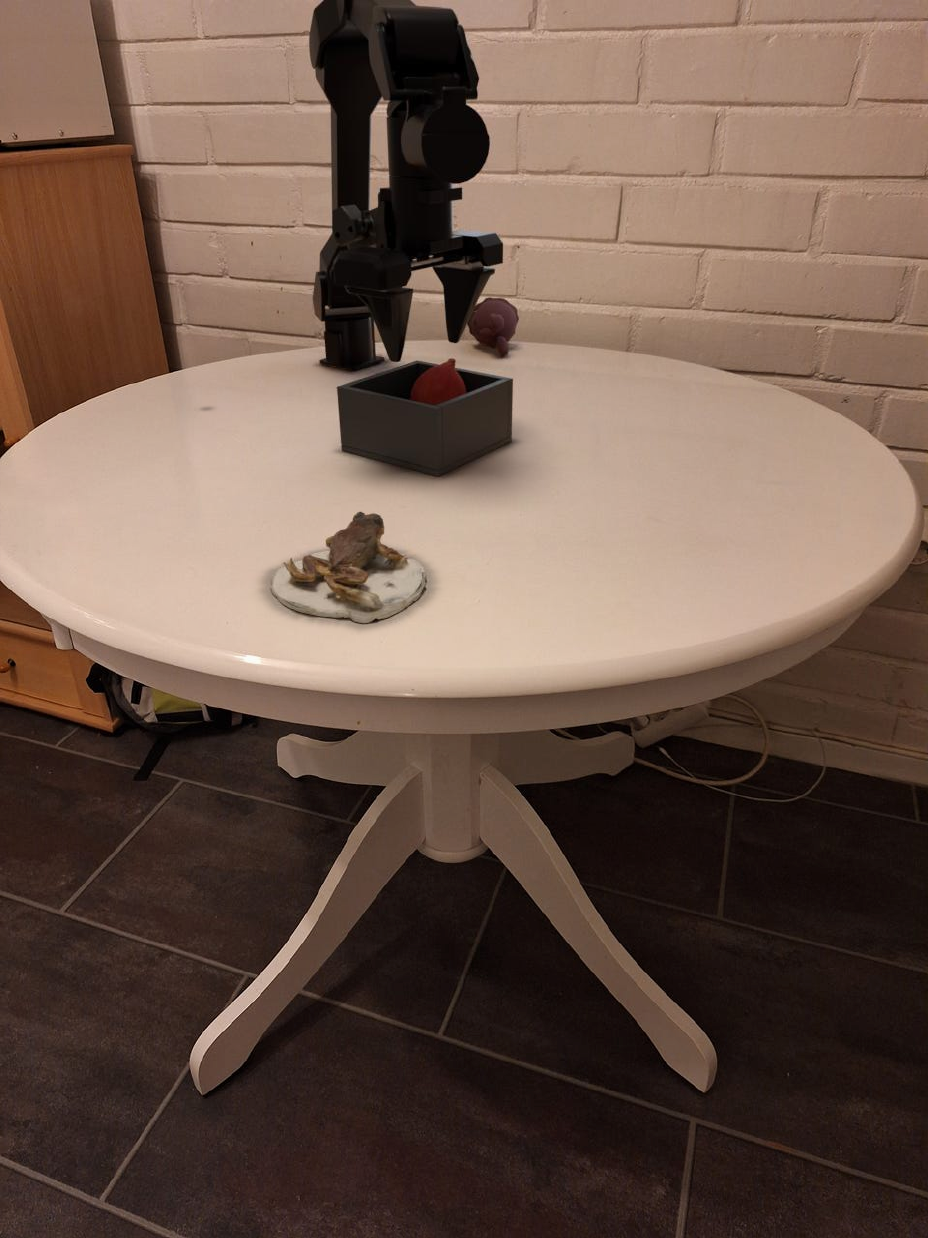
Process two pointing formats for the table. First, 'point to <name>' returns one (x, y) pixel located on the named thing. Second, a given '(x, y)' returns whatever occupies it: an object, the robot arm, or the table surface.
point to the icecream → (494, 323)
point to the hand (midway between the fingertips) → (425, 351)
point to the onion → (438, 384)
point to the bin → (424, 419)
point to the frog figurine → (351, 576)
